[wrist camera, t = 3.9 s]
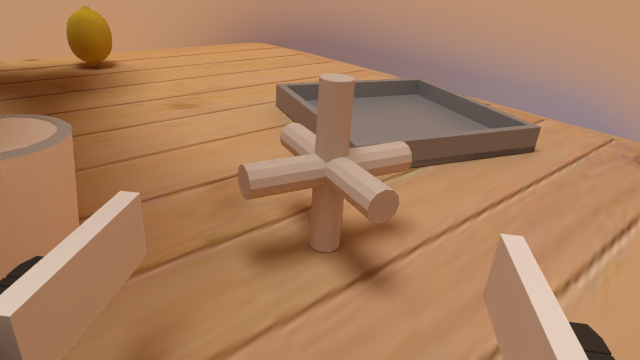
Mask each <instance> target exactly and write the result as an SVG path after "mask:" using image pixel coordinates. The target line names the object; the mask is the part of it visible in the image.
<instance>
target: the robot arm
mask: <svg viewBox="0 0 640 360" xmlns="http://www.w3.org/2000/svg"><path fill="white" fill-rule="evenodd" d="M146 256H147V246H146V238H145V229H144V221H143V213H142V205H141V197H140V193H135V192H127V191H120V192H118V193H117V194H116V195H115V196H114V197H113V198H111V199H110V200H109V201H108V202H107V203H106V204H105V205H103V206H102V207H101V208H100V209H99V210H98V211H96V212H95V213H94V214H93V215H92V216H91V217H90V218H88V219H87V220H86V221H85V222H84V223H83V224H81V225H80V226H79V227H78V228H77V229H76V230H75V231H73V232H72V233H71V234H70V235H69V236H68V237H66V238H65V239H64V240H63V241H62V242H61V243H60V244H58V245H57V246H56V247H55V248H54V249H53V250H51V251H50V252H49V253H48V254H47V255H46V256H45V257H44V256H35V257H33V258H31V259H29V260H27V261H25V262H23V263H21V264H19V265H18V266H17V267H16V268H14V269H13V270H12V271H11V272H10V273H8V274H7V275H6V278H2V279H1V280H0V360H63V359H64V358H65V356H66V355H67V354H68V353H69V351H70V350H71V349H72V348H73V347H74V345H75V344H76V343H77V342H78V340H79V339H80V338H81V337H82V335H83V334H84V333H85V332H86V330H87V329H88V328H89V327H90V325H91V324H92V323H93V322H94V320H95V319H96V318H97V317H98V315H99V314H100V313H101V312H102V310H103V309H104V308H105V307H106V305H107V304H108V303H109V302H110V300H111V299H112V298H113V297H114V296H115V294H116V293H117V292H118V291H119V289H120V288H121V287H122V286H123V284H124V283H125V282H126V281H127V279H128V278H129V277H130V276H131V274H132V273H133V272H134V271H135V269H136V268H137V267H138V266H139V264H140V263H141V262H142V261H143V259H144V258H145V257H146ZM483 297H484V300H485V303H486V306H487V310H488V313H489V316H490V319H491V322H492V325H493V329H494V332H495V335H496V338H497V341H498V344H499V348H500V351H501V354H502V357H503V360H615V359H614V357H612V356H611V352H610V350H609V349H608V347H607V345H606V344H605V342H604V340H603V339H602V338H601V337H600V336H599V335H598V334H597V333H596V332H595V331H594V330H593V329H592V328H590V327H589V326H588V325H587V324H581V323H573V322H568V320H567V318H566V316H565V315H564V313H563V311H562V309H561V307H560V305H559V303H558V301H557V299H556V298H555V296H554V294H553V292H552V290H551V288H550V286H549V284H548V283H547V281H546V279H545V277H544V275H543V273H542V271H541V269H540V268H539V266H538V264H537V262H536V260H535V258H534V256H533V254H532V253H531V251H530V249H529V247H528V245H527V243H526V241H525V239H524V238H523V236H516V235H507V234H500V237H499V241H498V244H497V248H496V251H495V255H494V259H493V262H492V266H491V270H490V273H489V277H488V281H487V284H486V288H485V291H484V295H483Z"/></svg>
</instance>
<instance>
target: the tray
mask: <svg viewBox="0 0 640 360" xmlns="http://www.w3.org/2000/svg"><path fill="white" fill-rule="evenodd" d="M318 93H319V82H315V83H291V84H277V86H276V106H277V107H278V108H279V109H280V110H282V111H283V112H284V113H285V114H286V115H287V116H288V117H289V118H290V119H292V120H293V121H294V122H295V123H300V124H301V125H303V126H304V127H306V128H307V129H308V130H310V131H311V132H313V133H314V134H315V135H316V125H317V109H318ZM540 128H541V127H539V126H537V125H534V124H532V123H529V122H527V121H525V120H522V119H520V118H517V117H515V116H512V115H510V114H507V113H505V112H503V111H500V110H498V109H495V108H493V107H490V106H488V105H485V104H483V103H480V102H478V101H476V100H473V99H471V98H468V97H466V96H463V95H461V94H458V93H456V92H454V91H451V90H449V89H446V88H444V87H441V86H439V85H436V84H434V83H431V82H429V81H426V80H424V79H422V78H413V79H412V78H411V79H387V80H363V81H355V88H354V98H353V109H352V119H351V129H350V140H349V149H350V148H357V147H364V146H371V145H378V144H384V143H391V142H398V141H401V142H405V143H406V144H407V145H408V146H409V148H410V150H411V153H412V163H411V165H410V168H413V167H421V166H429V165H436V164H444V163H451V162H459V161H467V160H474V159H482V158H490V157H497V156H505V155H512V154H520V153H528V152H534V149H535V146H536V142H537V139H538V135H539V132H540Z"/></svg>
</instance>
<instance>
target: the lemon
mask: <svg viewBox="0 0 640 360" xmlns="http://www.w3.org/2000/svg"><path fill="white" fill-rule="evenodd" d="M67 39H68V43H69V46H70V48H71V50H72V52H73V53H74V54H75V55H76V56H77V57H78V58H79V59H81V60H83V61H86V62H88V63H89V64H90V65H91V66H93V67H95V66H97V65H98V64H99V62H101V61H102V60H104V59H106V58H107V57H108V55H109V54H110V52H111V49H112V36H111V31H110V28H109V26H108V24H107V22H106V20H105V19H104V18H103V17H102V16H101V15H100V14H99V13H97V12H95V11H93V10H91V9H90V8H89V7H86V6H84V7H82V8H81V9H80V10H78V11H76V12H74V13H73V14H72V15H71V16H70V18H69V19H68V22H67Z"/></svg>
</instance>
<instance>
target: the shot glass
mask: <svg viewBox="0 0 640 360" xmlns="http://www.w3.org/2000/svg"><path fill="white" fill-rule="evenodd" d="M78 227H79V217H78V204H77V191H76V178H75V165H74V152H73V139H72V126H71V125H70V124H69V123H67V122H65V121H64V120H62V119H60V118H55V117H50V116H45V115H36V114H3V115H0V280H1V279H2V278H6V275H7V274H8V273H10V272H11V271H12V270H13V269H14V268H16V267H17V266H18V265H19V264H21V263H23V262H25V261H27V260H29V259H31V258H33V257H35V256H44V257H45V256H46V255H47V254H48V253H49V252H50V251H51V250H53V249H54V248H55V247H56V246H57V245H58V244H60V243H61V242H62V241H63V240H64V239H65V238H66V237H68V236H69V235H70V234H71V233H72V232H73V231H75V230H76V229H77V228H78Z"/></svg>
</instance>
